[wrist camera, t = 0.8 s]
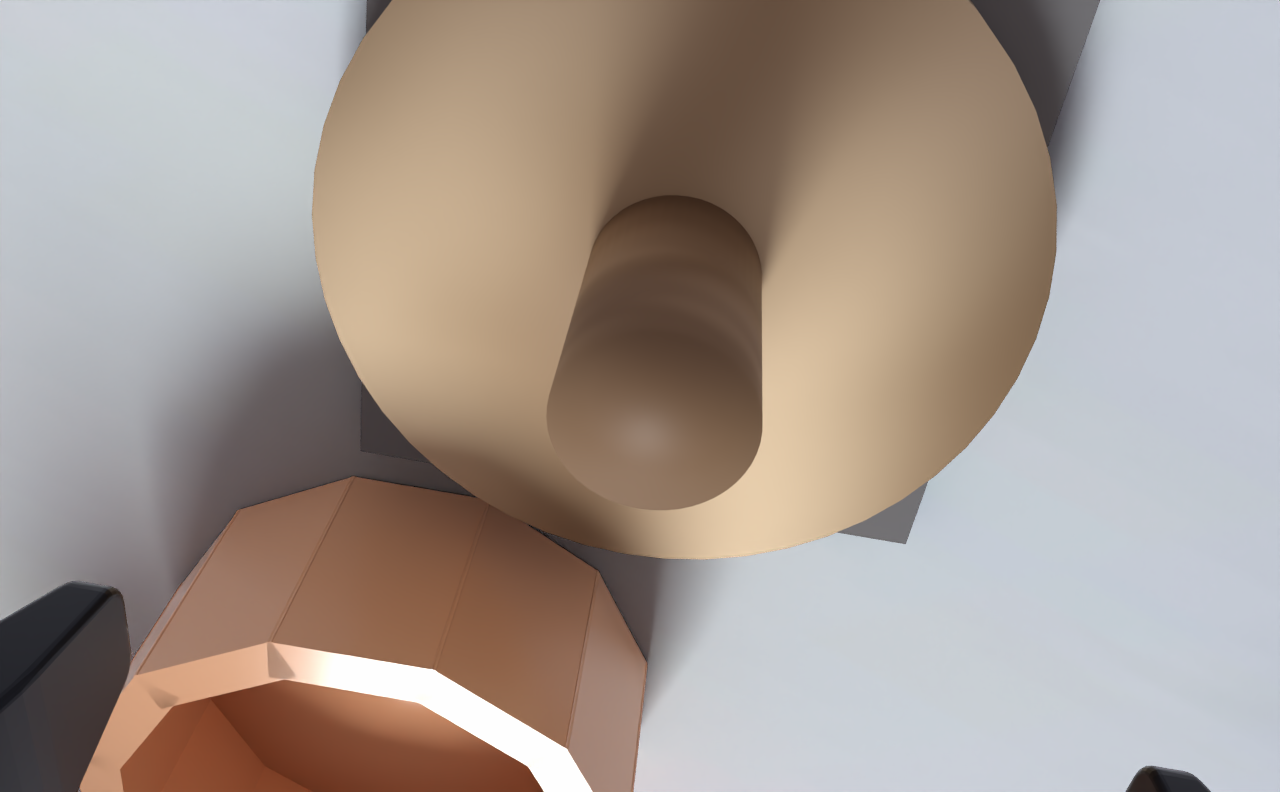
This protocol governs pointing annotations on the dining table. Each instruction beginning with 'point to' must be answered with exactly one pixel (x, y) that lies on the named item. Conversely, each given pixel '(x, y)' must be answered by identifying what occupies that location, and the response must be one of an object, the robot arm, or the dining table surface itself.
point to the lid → (685, 255)
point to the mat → (1046, 61)
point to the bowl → (380, 658)
